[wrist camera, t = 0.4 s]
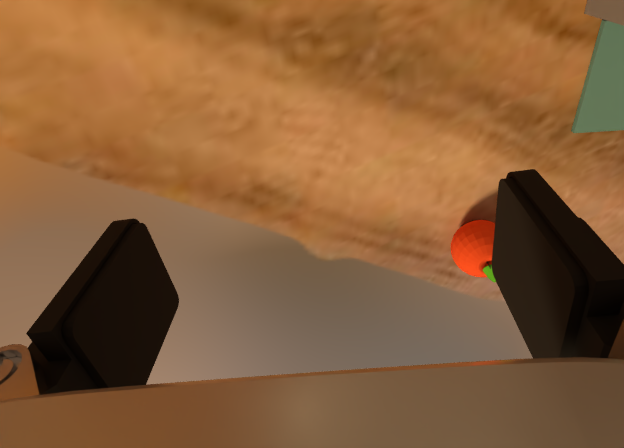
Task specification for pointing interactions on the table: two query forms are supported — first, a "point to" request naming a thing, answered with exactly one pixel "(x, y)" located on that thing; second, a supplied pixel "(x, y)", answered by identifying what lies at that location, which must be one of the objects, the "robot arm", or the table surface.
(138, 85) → the table surface
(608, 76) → the mat
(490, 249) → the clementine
